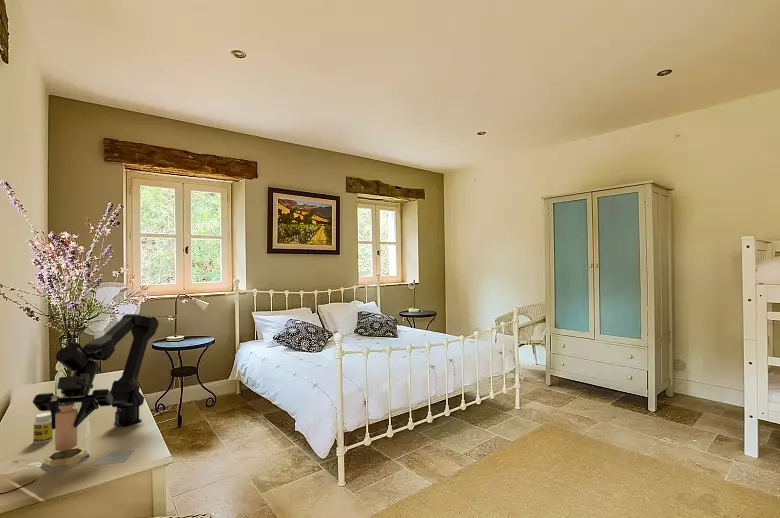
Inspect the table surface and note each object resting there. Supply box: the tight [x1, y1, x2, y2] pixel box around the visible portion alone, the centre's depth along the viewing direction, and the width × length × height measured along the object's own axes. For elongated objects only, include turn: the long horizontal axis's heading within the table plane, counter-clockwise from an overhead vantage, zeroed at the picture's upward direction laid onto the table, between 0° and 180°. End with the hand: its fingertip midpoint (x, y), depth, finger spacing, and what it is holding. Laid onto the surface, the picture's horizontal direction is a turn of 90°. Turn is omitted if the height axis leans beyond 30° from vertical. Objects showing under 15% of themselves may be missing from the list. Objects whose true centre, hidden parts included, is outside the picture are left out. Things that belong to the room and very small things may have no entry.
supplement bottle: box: [32, 412, 54, 445], centre depth 133 cm, size 5×5×8 cm
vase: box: [54, 403, 79, 452], centre depth 118 cm, size 5×5×12 cm
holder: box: [40, 446, 91, 472], centre depth 118 cm, size 11×11×3 cm
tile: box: [92, 449, 136, 466], centre depth 120 cm, size 8×8×1 cm
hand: (64, 427), depth 117 cm, fingers closed on vase, 5 cm apart
